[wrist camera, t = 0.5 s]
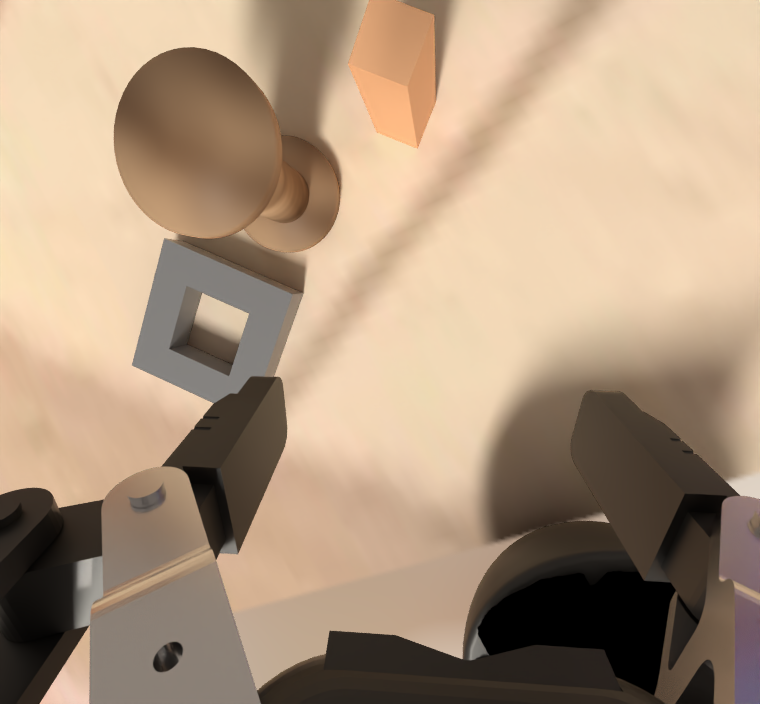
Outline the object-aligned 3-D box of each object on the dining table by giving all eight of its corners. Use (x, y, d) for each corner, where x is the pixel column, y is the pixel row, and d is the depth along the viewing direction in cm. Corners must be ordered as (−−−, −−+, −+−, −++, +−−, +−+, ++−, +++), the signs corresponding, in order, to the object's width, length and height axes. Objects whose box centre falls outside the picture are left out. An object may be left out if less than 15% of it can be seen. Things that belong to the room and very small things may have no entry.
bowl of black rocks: (441, 634, 38) (443, 960, 20) (476, 452, 34) (520, 653, 16) (654, 686, 36) (877, 1111, 18) (720, 496, 32) (1104, 794, 13)
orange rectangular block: (393, 85, 30) (372, -9, 20) (435, 102, 29) (434, 14, 20) (376, 132, 30) (348, 63, 21) (417, 148, 30) (407, 86, 20)
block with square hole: (183, 241, 34) (164, 238, 32) (303, 293, 34) (292, 294, 31) (151, 359, 37) (131, 365, 35) (261, 410, 36) (249, 419, 34)
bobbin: (256, 123, 32) (135, 20, 19) (355, 163, 31) (298, 85, 18) (225, 229, 34) (98, 199, 21) (318, 268, 33) (243, 262, 20)
